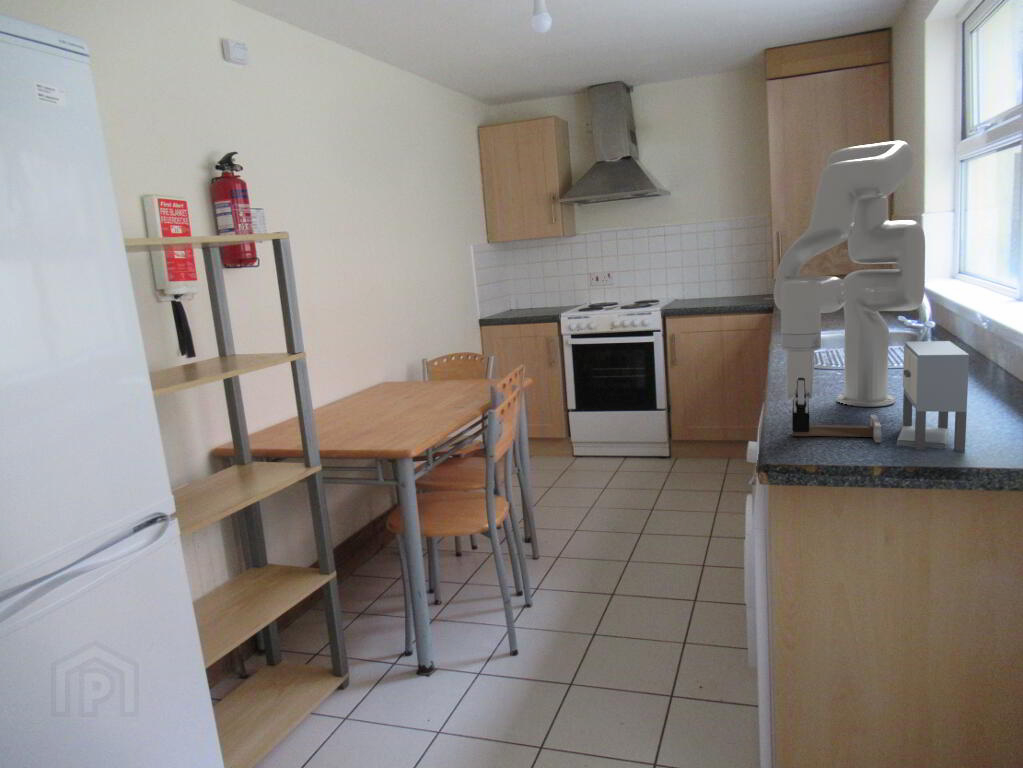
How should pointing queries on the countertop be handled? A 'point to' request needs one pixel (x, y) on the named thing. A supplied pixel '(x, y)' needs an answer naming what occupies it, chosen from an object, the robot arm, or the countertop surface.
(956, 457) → the countertop surface
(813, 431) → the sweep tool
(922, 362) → the cabinet
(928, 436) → the hard drive
